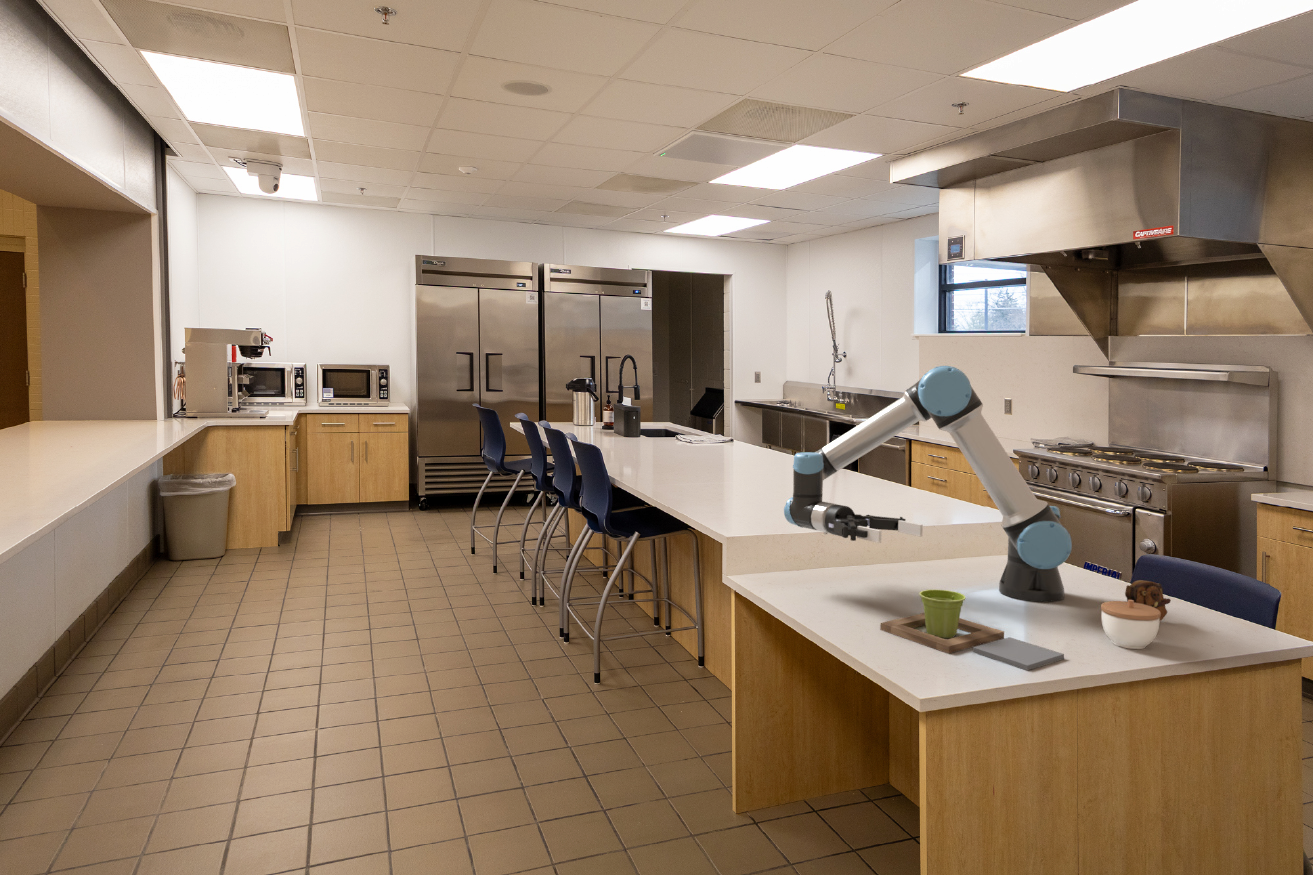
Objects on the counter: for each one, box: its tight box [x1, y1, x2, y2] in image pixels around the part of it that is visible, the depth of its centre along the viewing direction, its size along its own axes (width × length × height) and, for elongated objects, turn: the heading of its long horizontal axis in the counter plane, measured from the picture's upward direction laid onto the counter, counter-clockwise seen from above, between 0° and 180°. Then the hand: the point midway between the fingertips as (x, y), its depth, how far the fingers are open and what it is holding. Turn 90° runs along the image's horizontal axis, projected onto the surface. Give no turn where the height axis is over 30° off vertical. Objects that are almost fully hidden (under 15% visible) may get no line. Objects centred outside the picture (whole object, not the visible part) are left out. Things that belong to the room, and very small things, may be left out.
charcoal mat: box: [972, 636, 1065, 671], centre depth 163 cm, size 12×12×1 cm
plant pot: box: [919, 589, 967, 639], centre depth 176 cm, size 9×9×9 cm
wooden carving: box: [1124, 579, 1171, 622], centre depth 182 cm, size 16×5×10 cm, turn 122°
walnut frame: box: [879, 612, 1005, 655], centre depth 176 cm, size 18×18×2 cm
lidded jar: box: [1100, 600, 1161, 650], centre depth 169 cm, size 11×11×9 cm
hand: (901, 533), depth 184 cm, fingers open, 13 cm apart
